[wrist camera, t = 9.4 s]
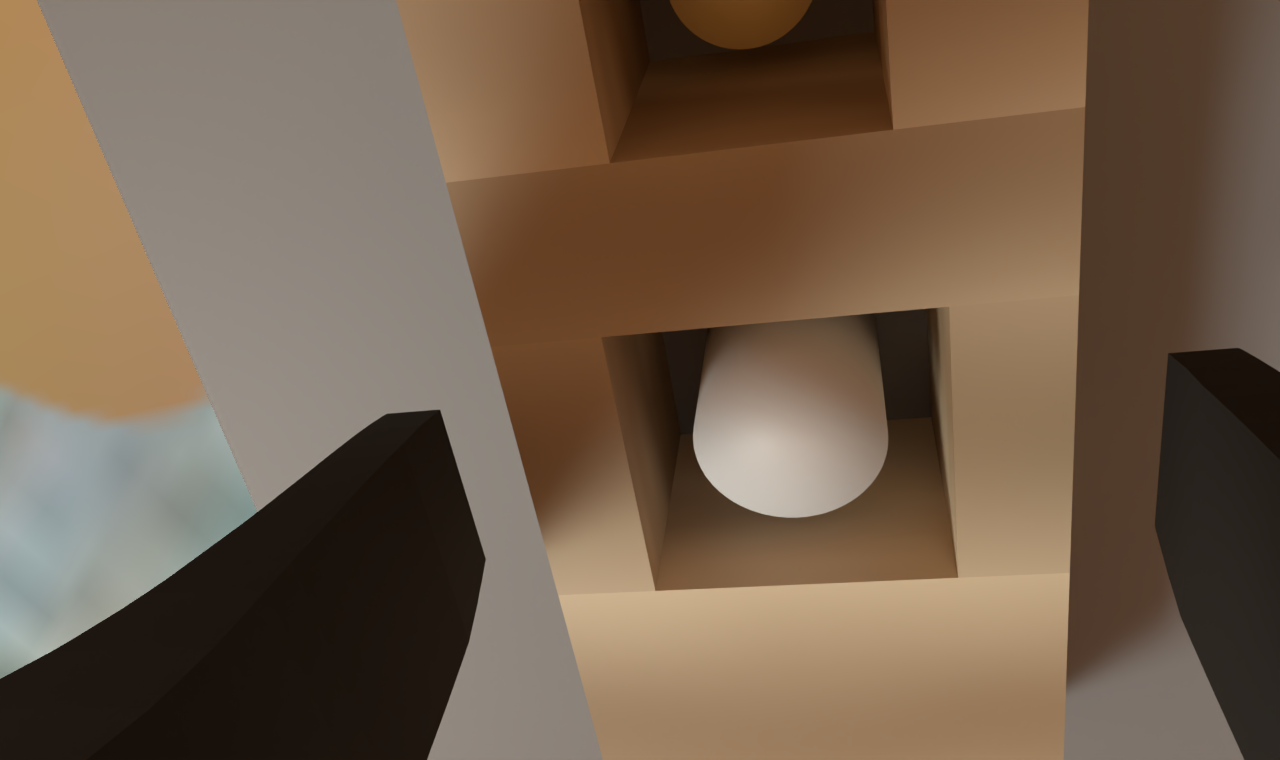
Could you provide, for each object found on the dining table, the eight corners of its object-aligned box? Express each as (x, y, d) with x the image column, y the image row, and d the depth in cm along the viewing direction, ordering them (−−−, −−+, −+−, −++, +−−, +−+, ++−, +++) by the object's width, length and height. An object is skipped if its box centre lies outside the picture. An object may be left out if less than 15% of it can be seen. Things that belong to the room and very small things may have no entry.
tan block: (1020, 713, 17) (1059, 898, 14) (662, 720, 18) (639, 894, 15) (1025, -426, 10) (1105, -461, 7) (430, -304, 11) (315, -295, 8)
